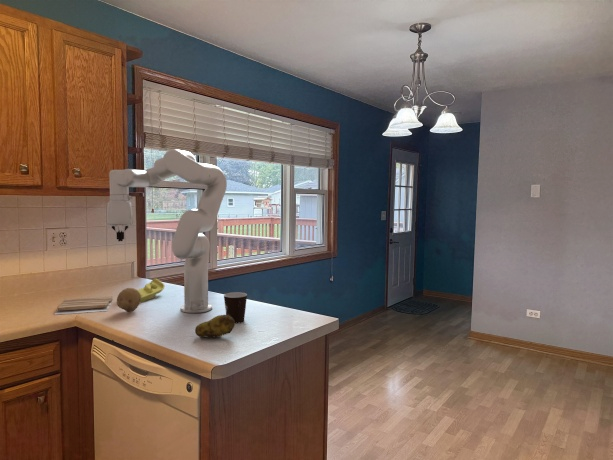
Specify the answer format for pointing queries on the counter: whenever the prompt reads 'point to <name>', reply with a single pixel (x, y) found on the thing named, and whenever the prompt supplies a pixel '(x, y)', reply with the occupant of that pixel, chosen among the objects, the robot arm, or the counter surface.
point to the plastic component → (151, 289)
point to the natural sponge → (129, 299)
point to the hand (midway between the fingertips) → (120, 240)
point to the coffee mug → (235, 305)
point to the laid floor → (85, 300)
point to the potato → (215, 326)
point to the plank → (83, 305)
